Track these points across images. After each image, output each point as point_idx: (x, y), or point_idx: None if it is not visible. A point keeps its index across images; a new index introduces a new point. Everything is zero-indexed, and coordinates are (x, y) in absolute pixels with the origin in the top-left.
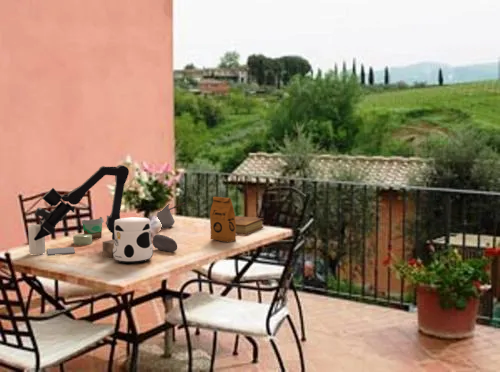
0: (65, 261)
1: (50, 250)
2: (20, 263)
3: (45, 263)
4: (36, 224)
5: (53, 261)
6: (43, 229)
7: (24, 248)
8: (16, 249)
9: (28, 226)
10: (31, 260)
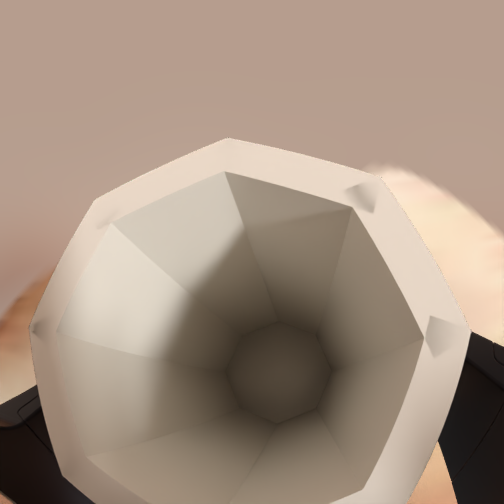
0: None
1: None
2: (46, 279)
3: None
4: (466, 321)
5: None
6: (2, 465)
7: (471, 243)
8: (443, 198)
9: (204, 151)
10: None
